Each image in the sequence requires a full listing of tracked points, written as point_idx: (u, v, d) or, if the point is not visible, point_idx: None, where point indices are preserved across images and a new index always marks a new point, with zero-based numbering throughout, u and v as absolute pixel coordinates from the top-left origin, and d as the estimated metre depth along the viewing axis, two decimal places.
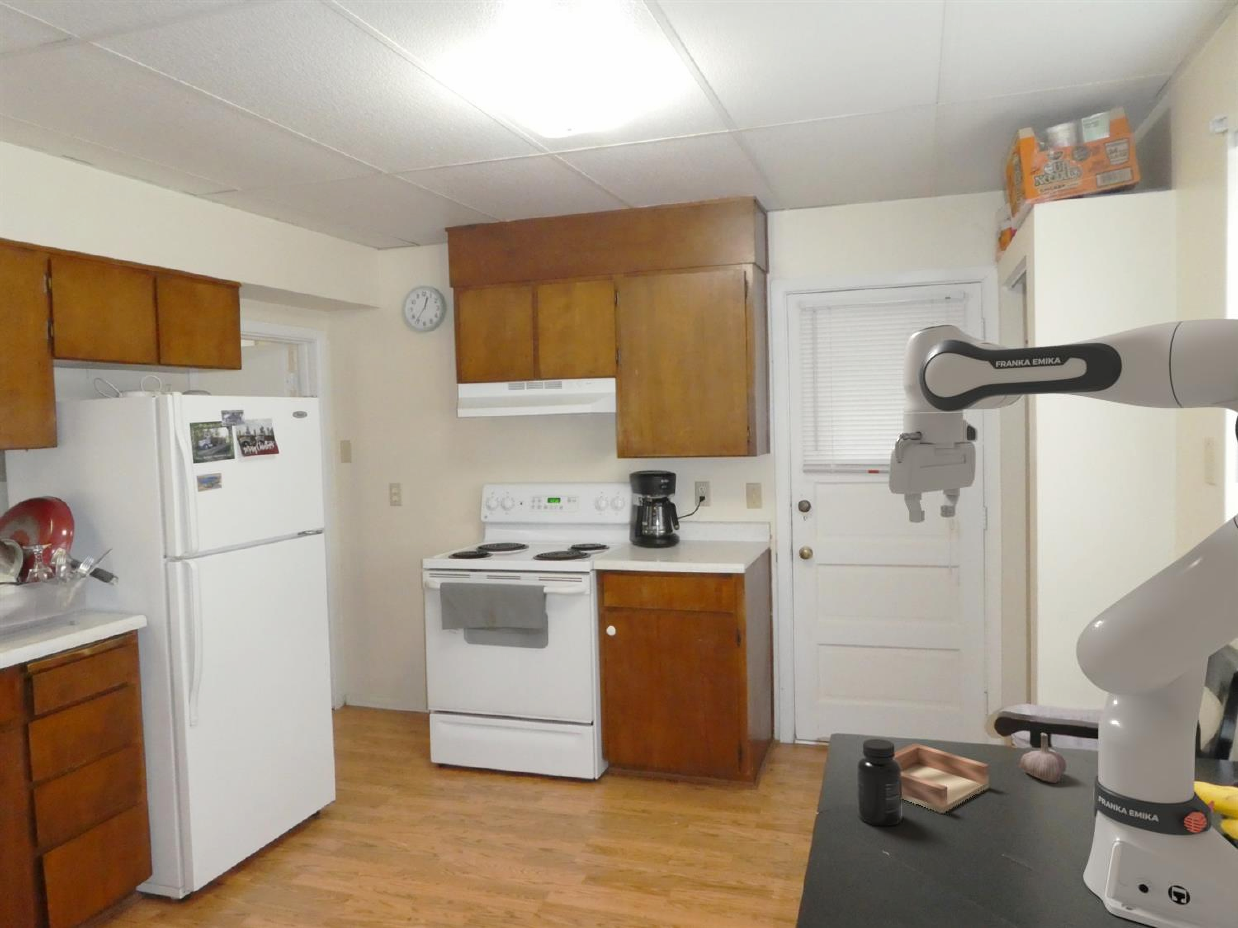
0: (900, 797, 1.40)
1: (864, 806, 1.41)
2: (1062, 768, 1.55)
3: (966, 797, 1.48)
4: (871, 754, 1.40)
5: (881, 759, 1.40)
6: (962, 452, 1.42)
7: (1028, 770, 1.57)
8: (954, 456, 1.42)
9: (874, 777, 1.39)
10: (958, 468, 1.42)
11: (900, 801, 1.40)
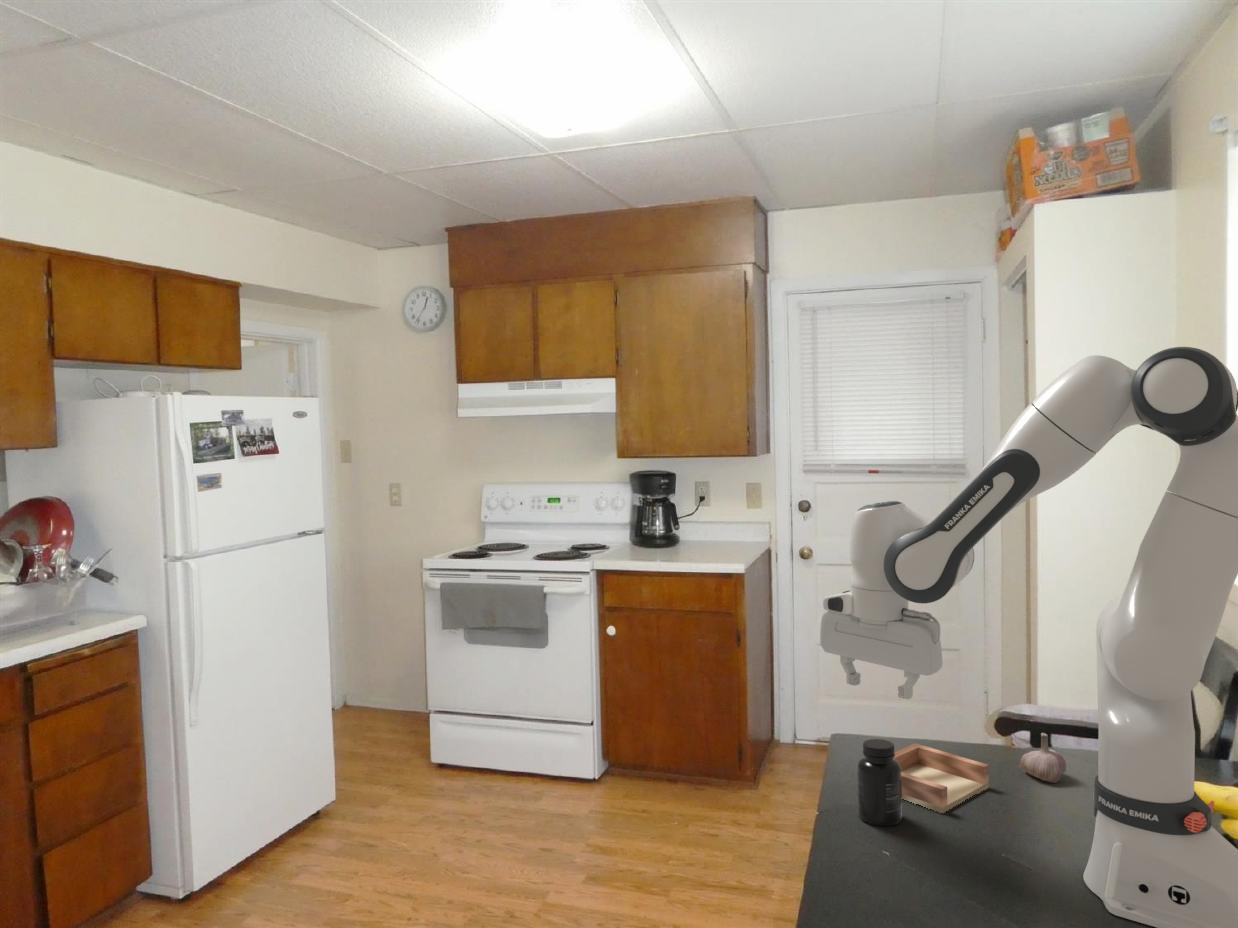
0: (900, 797, 1.40)
1: (864, 806, 1.41)
2: (1062, 768, 1.55)
3: (966, 797, 1.48)
4: (871, 754, 1.40)
5: (881, 759, 1.40)
6: None
7: (1028, 770, 1.57)
8: None
9: (874, 777, 1.39)
10: None
11: (900, 801, 1.40)
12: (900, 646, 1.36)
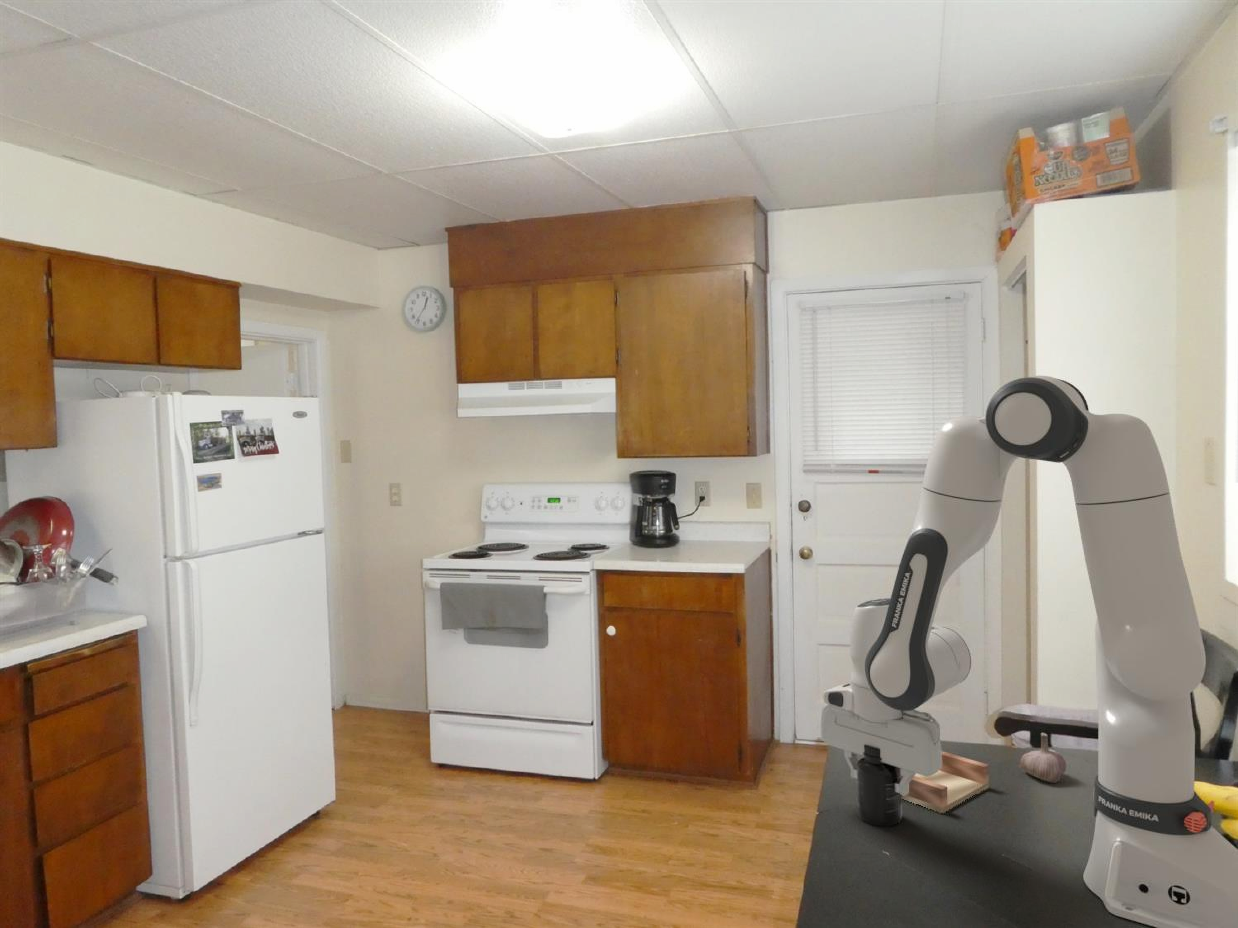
0: (900, 797, 1.40)
1: (864, 805, 1.41)
2: (1062, 768, 1.55)
3: (966, 797, 1.48)
4: (871, 754, 1.40)
5: (881, 759, 1.40)
6: None
7: (1028, 770, 1.57)
8: None
9: (874, 777, 1.39)
10: None
11: (900, 801, 1.40)
12: (900, 745, 1.37)
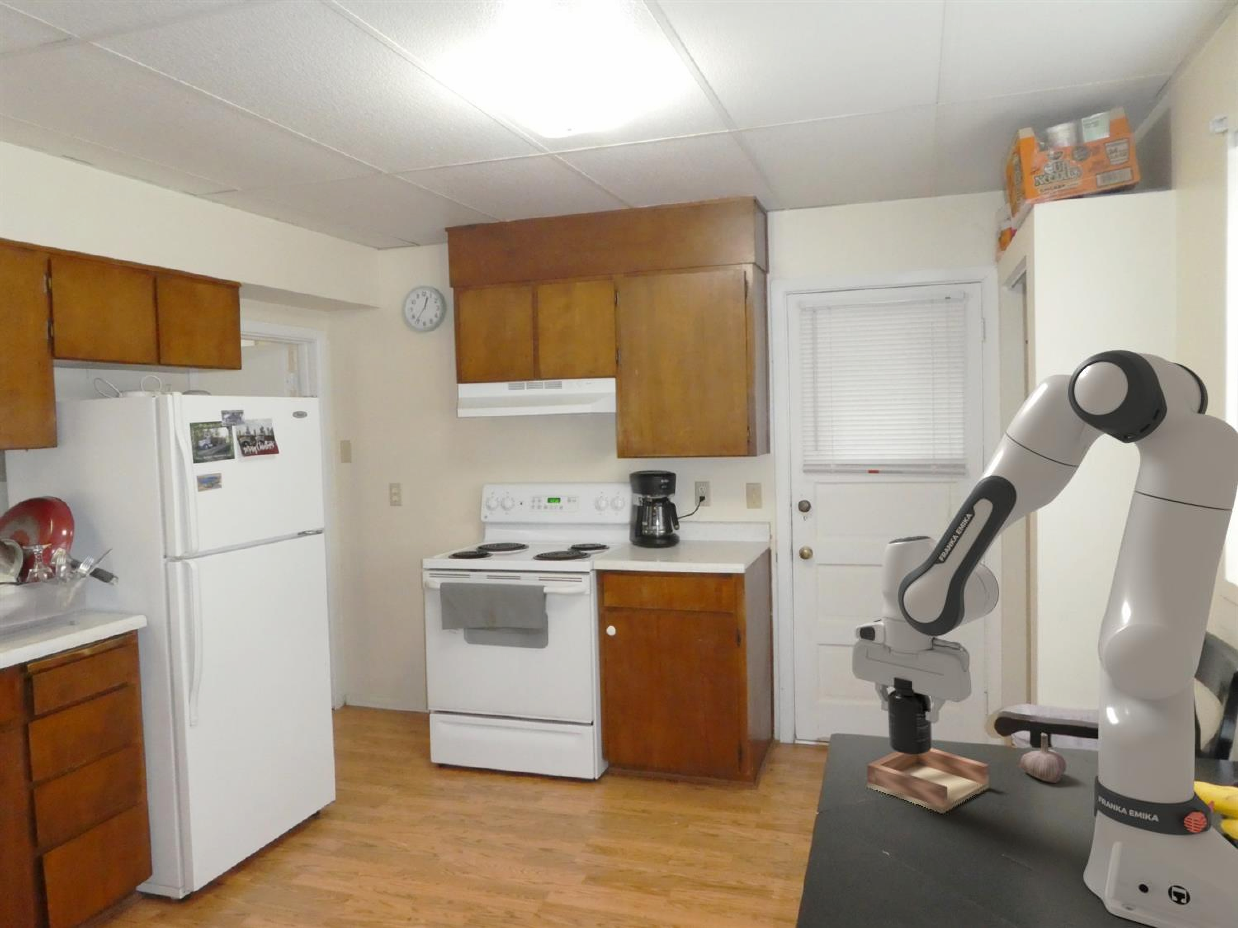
0: (930, 727, 1.47)
1: (896, 736, 1.47)
2: (1062, 768, 1.55)
3: (966, 797, 1.48)
4: (902, 686, 1.46)
5: (912, 690, 1.46)
6: None
7: (1028, 770, 1.57)
8: None
9: (905, 708, 1.45)
10: None
11: (930, 731, 1.47)
12: (931, 674, 1.43)
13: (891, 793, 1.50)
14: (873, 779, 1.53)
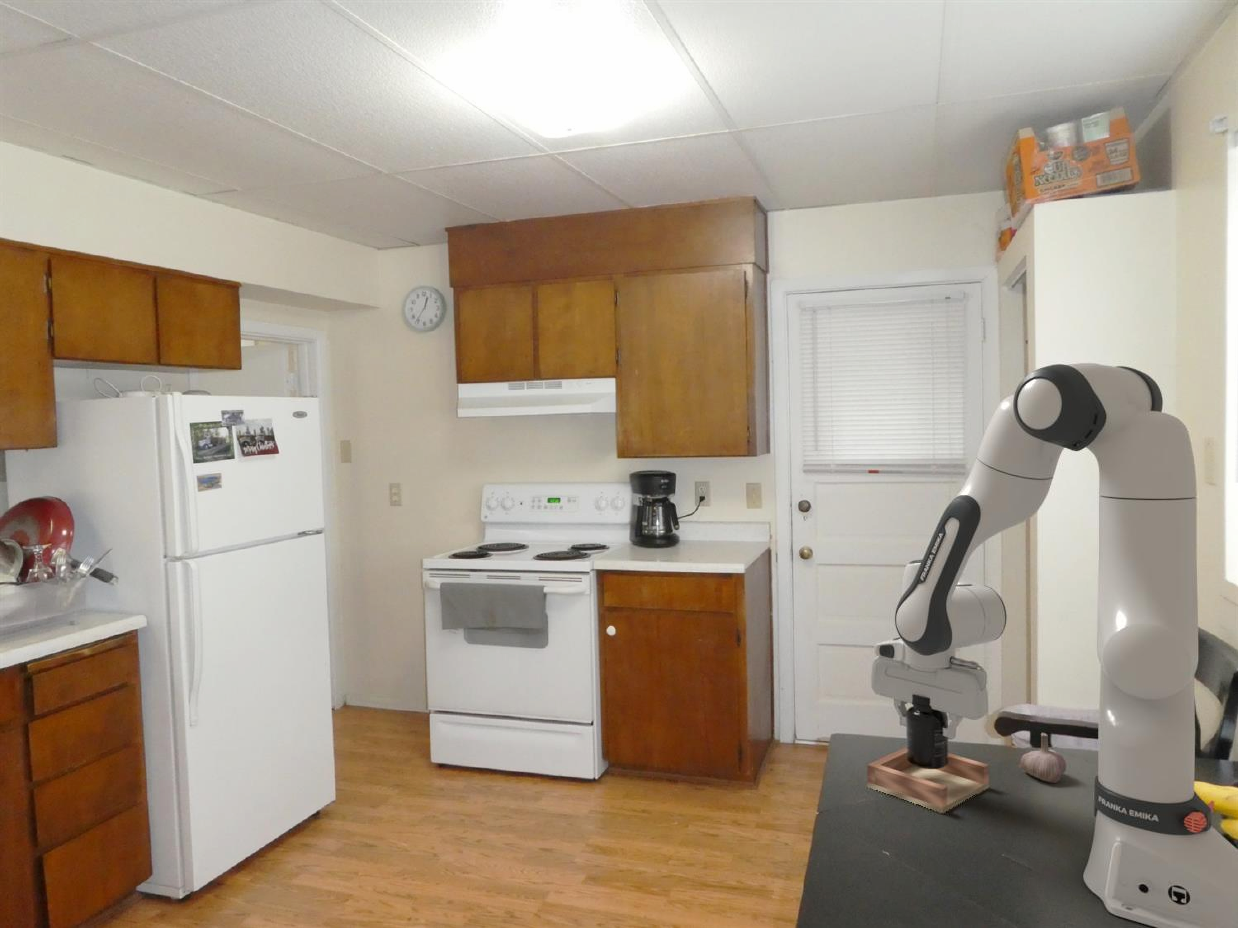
0: (947, 742, 1.51)
1: (914, 751, 1.51)
2: (1062, 768, 1.55)
3: (966, 797, 1.48)
4: (920, 703, 1.51)
5: (930, 707, 1.50)
6: None
7: (1028, 770, 1.57)
8: None
9: (923, 724, 1.50)
10: None
11: (947, 746, 1.51)
12: (949, 692, 1.48)
13: (891, 793, 1.50)
14: (873, 779, 1.53)
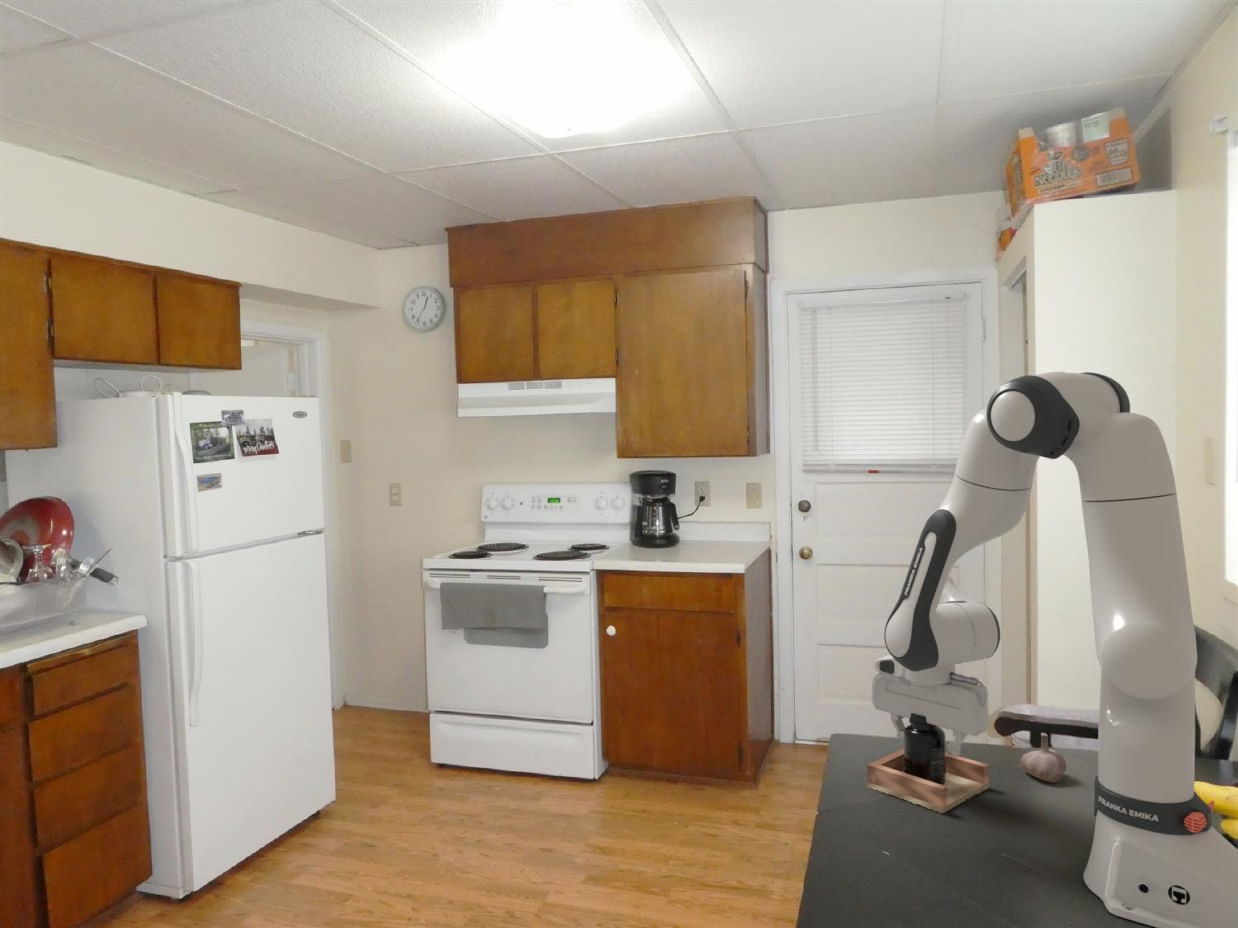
0: (944, 761, 1.52)
1: (911, 769, 1.52)
2: (1062, 768, 1.55)
3: (966, 797, 1.48)
4: (917, 721, 1.52)
5: (927, 726, 1.51)
6: None
7: (1028, 770, 1.57)
8: None
9: (920, 742, 1.51)
10: None
11: (944, 765, 1.52)
12: (949, 708, 1.48)
13: (891, 793, 1.50)
14: (873, 779, 1.53)
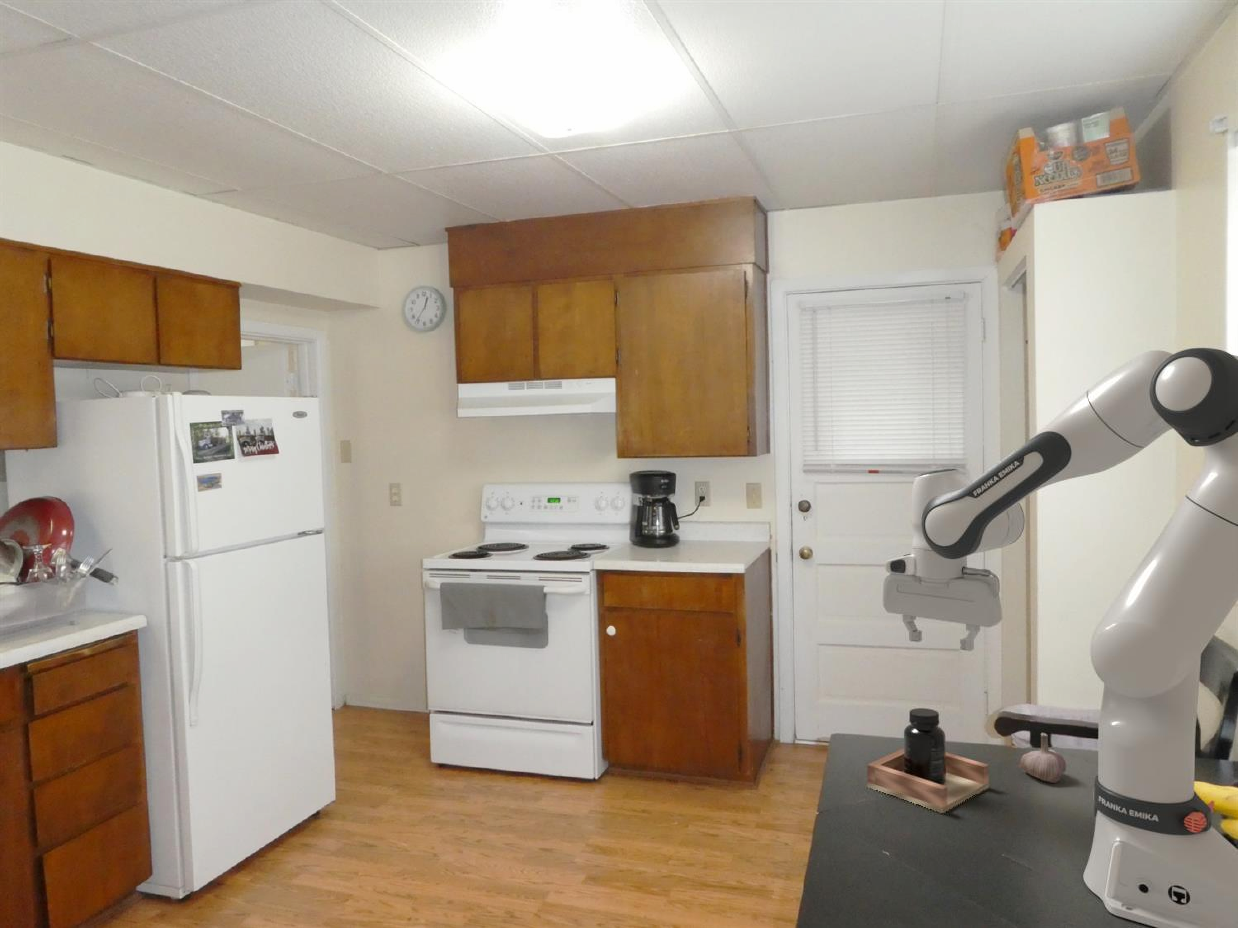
0: (944, 761, 1.52)
1: (911, 769, 1.52)
2: (1062, 768, 1.55)
3: (966, 797, 1.48)
4: (917, 721, 1.52)
5: (927, 726, 1.51)
6: None
7: (1028, 770, 1.57)
8: None
9: (920, 742, 1.51)
10: None
11: (944, 765, 1.52)
12: (962, 601, 1.47)
13: (891, 793, 1.50)
14: (873, 779, 1.53)
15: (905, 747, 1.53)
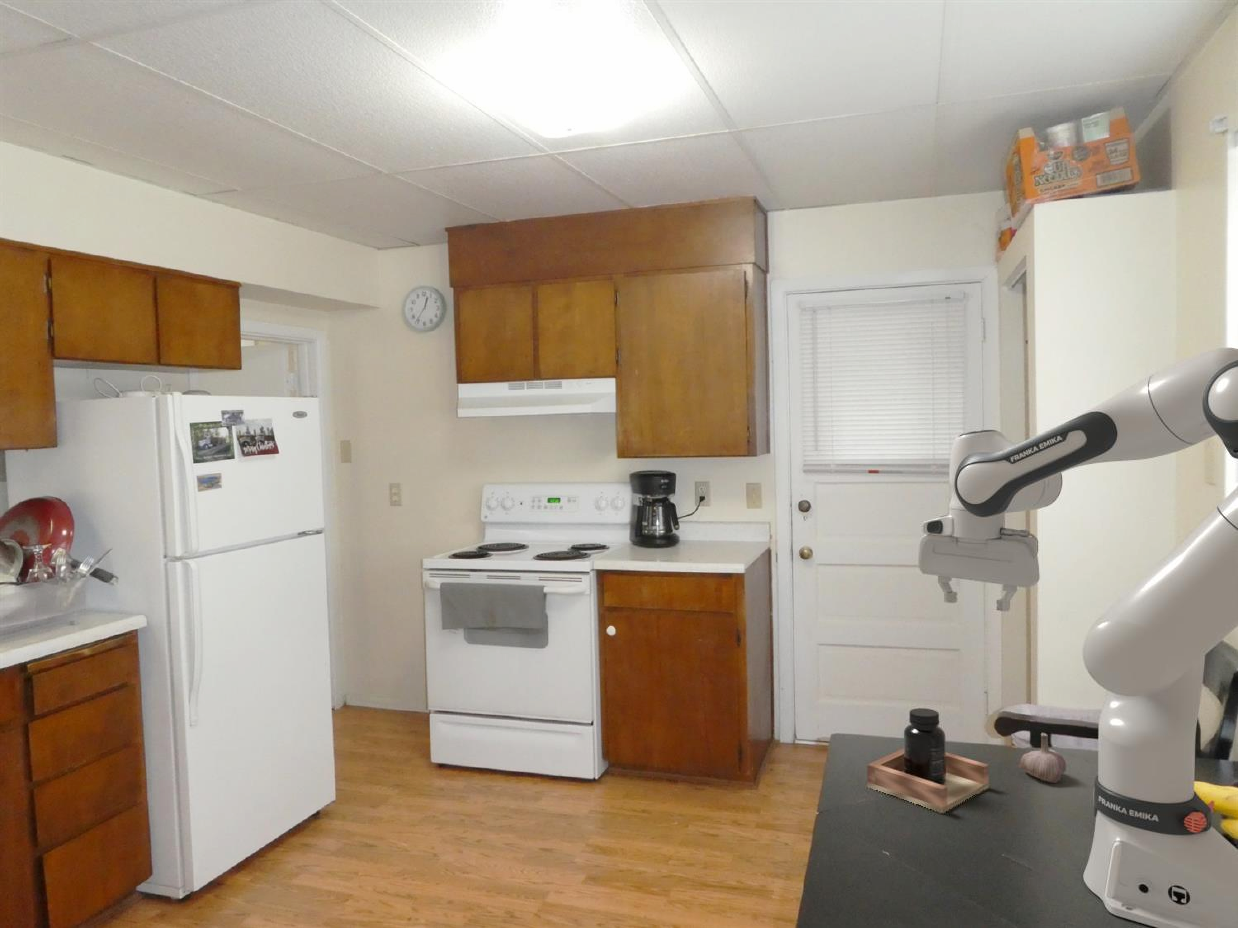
0: (944, 761, 1.52)
1: (911, 769, 1.52)
2: (1062, 768, 1.55)
3: (966, 797, 1.48)
4: (917, 721, 1.52)
5: (927, 726, 1.51)
6: None
7: (1028, 770, 1.57)
8: None
9: (920, 742, 1.51)
10: None
11: (944, 765, 1.52)
12: (1000, 562, 1.47)
13: (891, 793, 1.50)
14: (873, 779, 1.53)
15: (905, 747, 1.53)
